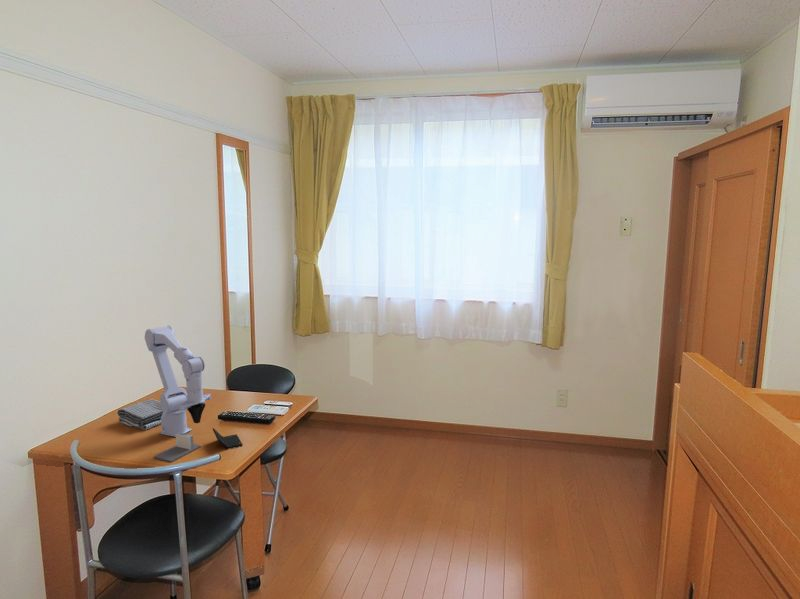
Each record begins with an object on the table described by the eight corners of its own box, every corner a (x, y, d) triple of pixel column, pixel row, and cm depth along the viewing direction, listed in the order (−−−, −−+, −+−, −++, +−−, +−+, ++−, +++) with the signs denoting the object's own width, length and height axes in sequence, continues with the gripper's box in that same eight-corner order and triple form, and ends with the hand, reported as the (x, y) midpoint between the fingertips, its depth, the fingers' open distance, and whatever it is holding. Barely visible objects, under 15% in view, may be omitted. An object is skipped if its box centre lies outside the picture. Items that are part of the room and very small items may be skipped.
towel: (149, 412, 229) (147, 396, 228) (175, 420, 221) (174, 403, 219) (116, 424, 216) (115, 406, 215) (143, 432, 207) (142, 414, 206)
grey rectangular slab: (153, 457, 184) (153, 456, 184) (183, 442, 197) (183, 441, 197) (171, 462, 181) (171, 461, 181) (201, 446, 193) (201, 445, 193)
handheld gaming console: (247, 440, 195) (229, 424, 191) (234, 456, 192) (215, 439, 188) (237, 435, 204) (220, 419, 200) (224, 449, 201) (206, 434, 197)
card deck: (176, 446, 193) (175, 433, 192) (179, 444, 194) (179, 432, 193) (190, 449, 190) (189, 436, 189) (193, 447, 191) (192, 435, 191)
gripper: (187, 395, 187) (190, 430, 189) (216, 384, 200) (218, 417, 202) (173, 393, 189) (176, 427, 191) (202, 382, 203) (204, 414, 205)
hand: (196, 422), depth 197 cm, fingers closed
